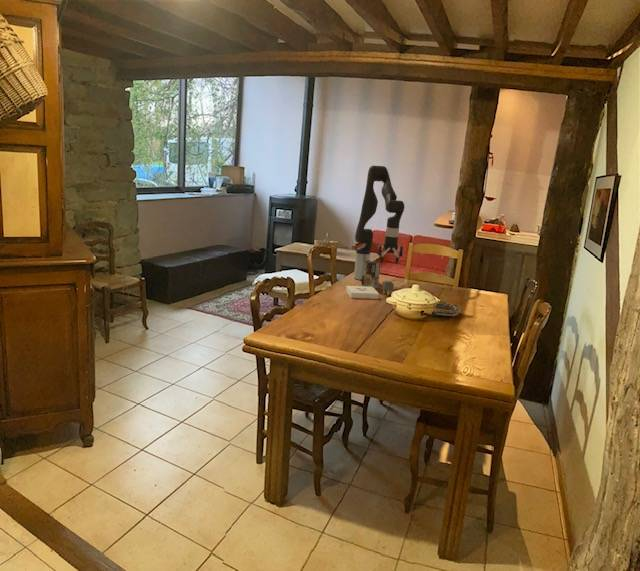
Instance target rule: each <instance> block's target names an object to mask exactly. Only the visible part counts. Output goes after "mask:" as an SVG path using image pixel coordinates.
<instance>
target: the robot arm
mask: <svg viewBox="0 0 640 571" xmlns="http://www.w3.org/2000/svg"><path fill="white" fill-rule="evenodd" d="M375 182H381V183H383V186H382V188H381V195H382V197H383V199H384V202H385V204H384V205H385V210H386V212H388V213H390V214H394V215H392V216H389V217H388V218H387V221H386V228H385V234H384V235H385V236H384V244H379V245H378V248H377V255H378V256H380V258H379V262H380V264H383V263H384V257H385V255H386V254H394V255H395V259H394V260H395V261H394V263H395V264H398V263H399V258H400V257H403V254H404V253H403V250H404V249H403V248H404V247H403V246H402V245H399V236H400V234H399V233H400V222H401V219H402V216H403V213H404V212H405V203H404V201H403V200H397V198H398V197H397V196H398V195H397V193H396V191H395V190H394V188H393V186H392V182H391V177H390V174H389V172H388V168H387V167H386V166H384V165H371V166H370V167H369V169H368V172H367V178H366V186H365V192H364V196H363V201H362V205H361V212H360V216H359V221H358V224H357V226H356V231H355V235H354V240H355V242H356V243H359V244H363V245H361V246H360V247H357V248H356V250H355V252H356V253H355V262H354V272H353V273H354V274H353V278H354V279H355V280H360V281H362V273H363V262H364V261H367V260H370V258H371V252H372V247H373V246H372V245H373V238H374V232H373V229H371V228H365V227H366V225H367V223H368V222H369V221H370V220H371V219H372V217H373V216H374V215H375V214H376V211H377V209H378V204H379V202H378V201H379V200H378V197H377V195H376V192H375V189H374V185H375ZM382 249H383V250H382ZM398 250H399V253H398V252H397V251H398ZM370 261H371V260H370Z"/></svg>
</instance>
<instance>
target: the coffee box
mask: <svg viewBox="0 0 640 571" xmlns="http://www.w3.org/2000/svg"><path fill="white" fill-rule="evenodd" d="M380 270H381V262H380V261H374V260H367V261H364V262H363V273H362V280H361V285H360V286H367V287H373V288H374V289H375V290H376V289H378V288H379V280H380Z"/></svg>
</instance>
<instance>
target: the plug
mask: <svg viewBox="0 0 640 571" xmlns="http://www.w3.org/2000/svg"><path fill="white" fill-rule="evenodd" d="M394 286H395V284H394V282H393V281H391V280H385V281H382V286H381V287H382V294H383V295H384V294H386V296H390V294H391V292H393V291H394Z"/></svg>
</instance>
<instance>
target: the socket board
mask: <svg viewBox="0 0 640 571" xmlns="http://www.w3.org/2000/svg"><path fill="white" fill-rule="evenodd" d="M345 292H346V293H347V294H348V296H349V298H350V299H370V300H371V299H373V300H376V299H377V300H379V296H380V293H379V292H378V291H377V290H376V288H375V289H374V288H373V287H367V286H361V285H346V286H345Z"/></svg>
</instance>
